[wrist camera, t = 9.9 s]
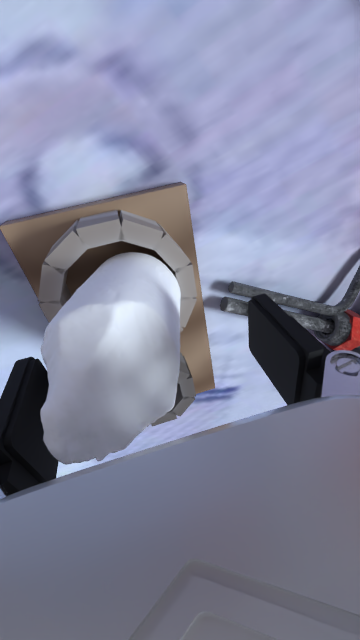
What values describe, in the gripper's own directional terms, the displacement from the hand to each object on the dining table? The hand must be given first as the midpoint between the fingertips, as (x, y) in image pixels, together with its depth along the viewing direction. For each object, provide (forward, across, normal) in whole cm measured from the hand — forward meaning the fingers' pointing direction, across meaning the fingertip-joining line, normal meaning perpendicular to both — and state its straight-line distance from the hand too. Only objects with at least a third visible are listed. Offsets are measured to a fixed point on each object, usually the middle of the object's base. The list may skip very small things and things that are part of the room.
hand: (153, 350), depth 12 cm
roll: (+7, 0, +1) cm, 7 cm away
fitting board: (+11, +1, +5) cm, 12 cm away
